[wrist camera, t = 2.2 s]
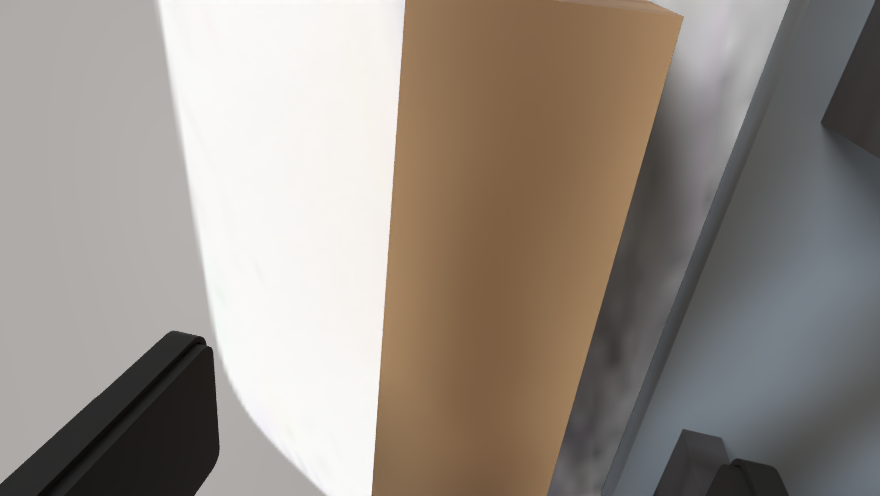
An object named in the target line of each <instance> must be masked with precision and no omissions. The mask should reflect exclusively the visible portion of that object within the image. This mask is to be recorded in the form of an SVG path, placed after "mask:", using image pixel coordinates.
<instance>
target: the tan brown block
mask: <svg viewBox="0 0 880 496" xmlns="http://www.w3.org/2000/svg"><path fill="white" fill-rule="evenodd" d="M683 17H684V16H681V15H679V14H677V13H674V12H672V11H670V10H668V9H665V8H663V7H661V6H658V5H656V4H654V3H652V2H649V1H647V0H405V15H404V30H403V44H402V59H401V74H400V88H399V103H398V118H397V132H396V147H395V161H394V176H393V191H392V205H391V220H390V235H389V249H388V264H387V279H386V293H385V308H384V323H383V337H382V352H381V366H380V381H379V396H378V410H377V425H376V440H375V454H374V469H373V484H372V496H547V493H548V490H549V486H550V483H551V479H552V476H553V472H554V469H555V465H556V462H557V458H558V455H559V451H560V448H561V444H562V441H563V437H564V434H565V430H566V427H567V423H568V420H569V416H570V413H571V409H572V406H573V402H574V399H575V395H576V392H577V388H578V385H579V381H580V378H581V374H582V371H583V367H584V364H585V360H586V357H587V353H588V350H589V346H590V343H591V339H592V336H593V332H594V329H595V325H596V322H597V318H598V315H599V311H600V308H601V304H602V301H603V297H604V294H605V290H606V287H607V283H608V280H609V276H610V273H611V269H612V266H613V262H614V259H615V255H616V252H617V248H618V245H619V241H620V238H621V234H622V231H623V227H624V224H625V220H626V217H627V213H628V210H629V206H630V203H631V199H632V196H633V192H634V189H635V185H636V182H637V178H638V175H639V171H640V168H641V164H642V161H643V157H644V154H645V150H646V147H647V143H648V140H649V136H650V133H651V129H652V126H653V122H654V119H655V115H656V112H657V108H658V105H659V101H660V98H661V94H662V91H663V87H664V84H665V80H666V77H667V73H668V70H669V66H670V63H671V59H672V56H673V52H674V49H675V45H676V42H677V38H678V35H679V31H680V28H681V24H682V21H683Z"/></svg>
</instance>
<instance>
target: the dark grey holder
mask: <svg viewBox="0 0 880 496" xmlns="http://www.w3.org/2000/svg"><path fill="white" fill-rule="evenodd" d="M736 458H738V459H744V460H748V461H753V462H757V463H761V464H766V465H770V466H773V467H774V468H776V470H777V471H778V473H779V475H780V477H781V479H782V481H783V483H784V486H785V488H786V490H787V492H788V494H789V496H880V0H790V2H789V4H788V7H787V10H786V12H785V15H784V17H783V20H782V23H781V25H780V28H779V30H778V33H777V36H776V38H775V41H774V43H773V46H772V49H771V51H770V54H769V57H768V59H767V62H766V64H765V67H764V70H763V72H762V75H761V77H760V80H759V83H758V85H757V88H756V90H755V93H754V96H753V98H752V101H751V103H750V106H749V109H748V111H747V114H746V117H745V119H744V122H743V124H742V127H741V130H740V132H739V135H738V137H737V140H736V143H735V145H734V148H733V150H732V153H731V156H730V158H729V161H728V163H727V166H726V169H725V171H724V174H723V176H722V179H721V182H720V184H719V187H718V190H717V192H716V195H715V197H714V200H713V203H712V205H711V208H710V210H709V213H708V216H707V218H706V221H705V223H704V226H703V229H702V231H701V234H700V236H699V239H698V242H697V244H696V247H695V250H694V252H693V255H692V257H691V260H690V263H689V265H688V268H687V270H686V273H685V276H684V278H683V281H682V283H681V286H680V289H679V291H678V294H677V296H676V299H675V302H674V304H673V307H672V309H671V312H670V315H669V317H668V320H667V323H666V325H665V328H664V330H663V333H662V336H661V338H660V341H659V343H658V346H657V349H656V351H655V354H654V356H653V359H652V362H651V364H650V367H649V369H648V372H647V375H646V377H645V380H644V382H643V385H642V388H641V390H640V393H639V396H638V398H637V401H636V403H635V406H634V409H633V411H632V414H631V416H630V419H629V422H628V424H627V427H626V429H625V432H624V435H623V437H622V440H621V442H620V445H619V448H618V450H617V453H616V456H615V458H614V461H613V463H612V466H611V469H610V471H609V474H608V476H607V479H606V482H605V484H604V487H603V489H602V492H601V496H706V494H707V492H708V490H709V488H710V486H711V483H712V481H713V479H714V477H715V475H716V473H717V471H718V469H719V468H720V466H721V465H723V464H727V465H730V464H731V462H732V461H733V460H734V459H736Z"/></svg>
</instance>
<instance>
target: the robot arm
mask: <svg viewBox="0 0 880 496" xmlns="http://www.w3.org/2000/svg"><path fill="white" fill-rule="evenodd" d="M219 447H220V446H219V432H218V417H217V403H216V387H215V372H214V358H213V350H212V348H211V347H209V346H207V345H206V341H205V339H204V338H203V337H200V336H196V335H192V334H187V333H182V332H178V331H171V332H169V333H168V334H166V335H165V336H164V337H163V338H162V339H161V340H159V342H157V343H156V344H155V345H154V346H153V347H152V348H151V349H150V350H148V351H147V352H146V353H145V354H144V355H143V356H142V357H141V358H140V359H139V360H138V361H137V362H135V363H134V364H133V365H132V366H131V367H130V368H129V369H128V370H126V371H125V372H124V373H123V374H122V375H121V376H120V377H119V378H118V379H117V380H115V381H114V383H112V384H111V385H110V386H109V387H108V388H107V389H106V390H104V391H103V392H102V393H101V394H100V395H99V396H97V397H96V398H95V399H94V400H92V401H91V402H90V403H89V404H88V405H87V406H86V407H85V408H84V409H83V410H82V411H80V412H79V413H78V414H77V415H76V416H75V417H74V418H73V419H72V420H70V421H69V422H68V423H67V424H66V425H65V426H64V427H63V428H62V429H61V430H59V431H58V432H57V433H56V434H55V435H54V436H53V437H52V438H51V439H50V440H48V441H47V442H46V443H45V444H44V445H43V446H42V447H41V448H40V449H39V450H37V451H36V452H35V453H34V454H33V455H32V456H31V457H30V458H29V459H27V460H26V461H25V462H24V463H23V464H22V465H21V466H20V467H19V468H18V469H17V470H15V471H14V473H12V474H11V475H10V476H9V477H8V478H7V479H5V480H4V481H3V482H2V483H1V484H0V496H194V495H195V494H196V492H197V491H198V489H199V488H200V487H201V485H202V484H203V482H204V481H205V480H206V478H207V477H208V475H209V474H210V472H211V471H212V469H213V468H214V466H215V464H216V461H217V459H218V456H219ZM706 496H789V494H788V492H787V490H786V488H785V486H784V483H783V481H782V479H781V477H780V475H779V473H778V471H777V470H776V468H774V467H773V466H770V465H766V464H761V463H757V462H753V461H748V460H744V459H738V458H736V459H734V460H733V461H732V462H731V464H730V465H727V464H723V465H721V466H720V468H719V469H718V471H717V473H716V475H715V477H714V479H713V481H712V483H711V486H710V488H709V490H708V492H707V494H706Z"/></svg>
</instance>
